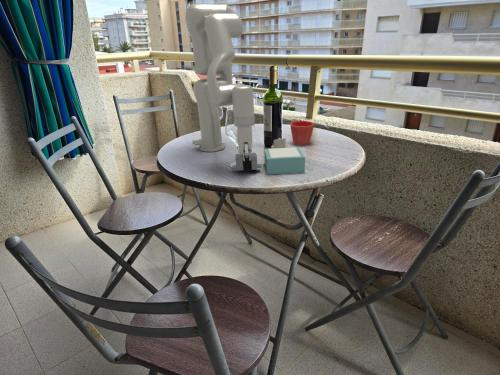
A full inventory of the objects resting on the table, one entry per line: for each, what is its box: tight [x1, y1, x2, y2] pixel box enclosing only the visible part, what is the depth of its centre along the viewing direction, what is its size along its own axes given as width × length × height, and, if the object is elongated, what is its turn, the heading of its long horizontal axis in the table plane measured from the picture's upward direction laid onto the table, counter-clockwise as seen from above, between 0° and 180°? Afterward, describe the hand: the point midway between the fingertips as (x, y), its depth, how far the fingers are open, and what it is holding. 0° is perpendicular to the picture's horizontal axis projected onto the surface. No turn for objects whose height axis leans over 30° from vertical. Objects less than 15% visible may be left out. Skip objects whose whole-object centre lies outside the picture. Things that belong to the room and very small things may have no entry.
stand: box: [263, 147, 306, 175], centre depth 122 cm, size 14×12×6 cm
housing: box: [231, 152, 262, 172], centre depth 120 cm, size 11×6×6 cm, turn 93°
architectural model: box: [270, 137, 289, 149], centre depth 138 cm, size 3×7×7 cm, turn 110°
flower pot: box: [289, 120, 315, 146], centre depth 150 cm, size 11×11×10 cm
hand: (247, 166), depth 122 cm, fingers open, 6 cm apart
